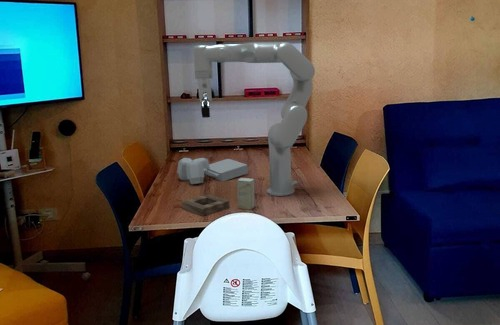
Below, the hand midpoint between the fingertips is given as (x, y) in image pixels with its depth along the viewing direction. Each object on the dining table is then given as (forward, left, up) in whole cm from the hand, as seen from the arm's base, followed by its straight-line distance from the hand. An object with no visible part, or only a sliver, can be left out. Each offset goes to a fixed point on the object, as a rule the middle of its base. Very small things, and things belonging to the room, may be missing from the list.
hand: (205, 115), depth 206 cm
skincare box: (-2, +22, -37) cm, 43 cm away
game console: (-23, -26, -37) cm, 51 cm away
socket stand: (+10, +10, -37) cm, 39 cm away
